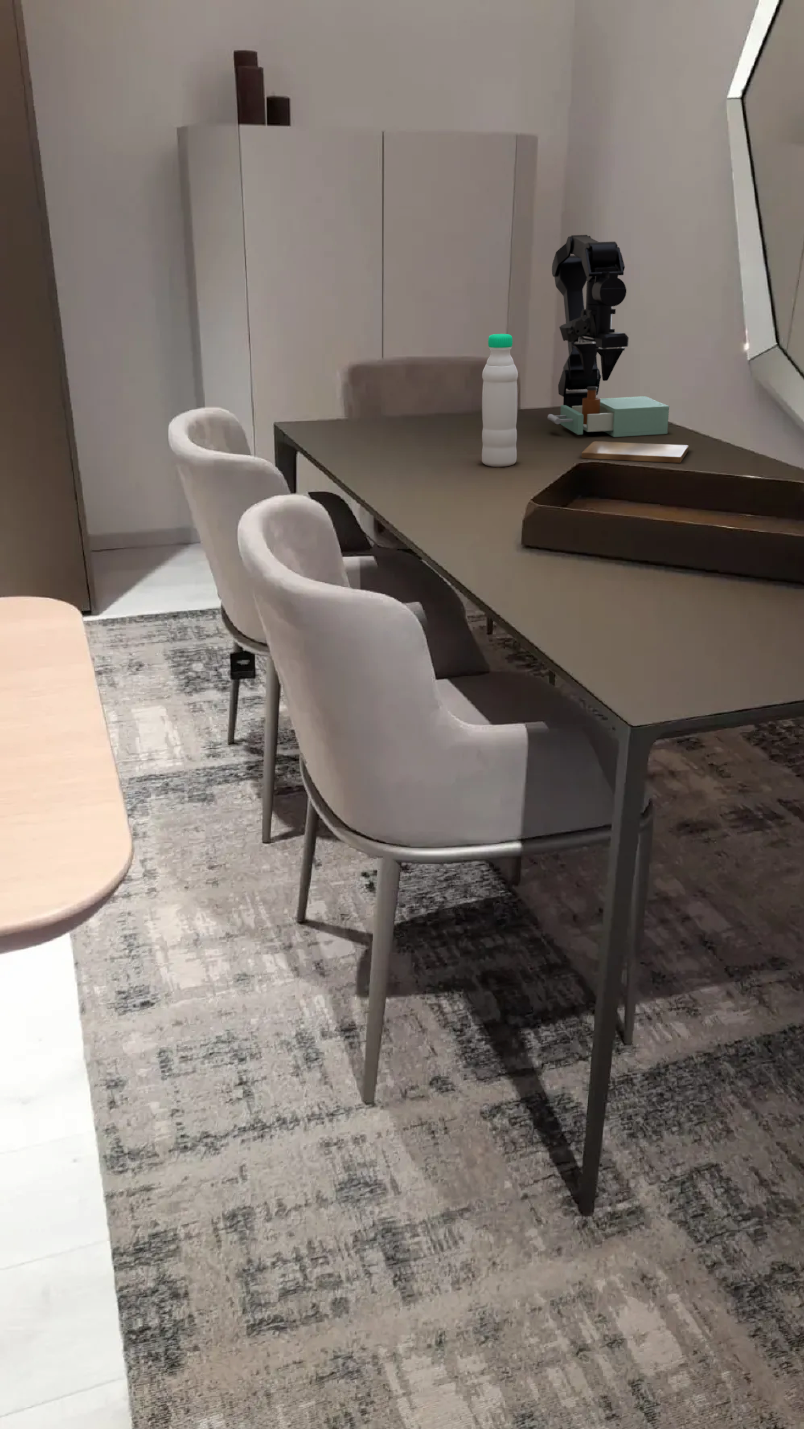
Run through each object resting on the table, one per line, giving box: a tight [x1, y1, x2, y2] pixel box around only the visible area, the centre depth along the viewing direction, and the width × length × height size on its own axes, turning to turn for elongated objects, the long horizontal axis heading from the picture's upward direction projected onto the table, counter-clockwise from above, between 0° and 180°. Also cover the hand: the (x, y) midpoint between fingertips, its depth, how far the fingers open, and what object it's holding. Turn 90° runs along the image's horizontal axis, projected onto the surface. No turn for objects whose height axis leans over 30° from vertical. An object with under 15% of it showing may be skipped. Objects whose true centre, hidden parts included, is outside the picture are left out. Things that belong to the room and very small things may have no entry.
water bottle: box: [481, 333, 519, 468], centre depth 219 cm, size 7×7×25 cm
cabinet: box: [600, 395, 670, 438], centre depth 252 cm, size 13×15×6 cm
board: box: [581, 440, 689, 464], centre depth 228 cm, size 20×12×1 cm, turn 69°
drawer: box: [547, 404, 614, 435], centre depth 251 cm, size 16×13×4 cm
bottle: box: [582, 386, 601, 425], centre depth 249 cm, size 4×4×8 cm
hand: (596, 378), depth 246 cm, fingers open, 9 cm apart
